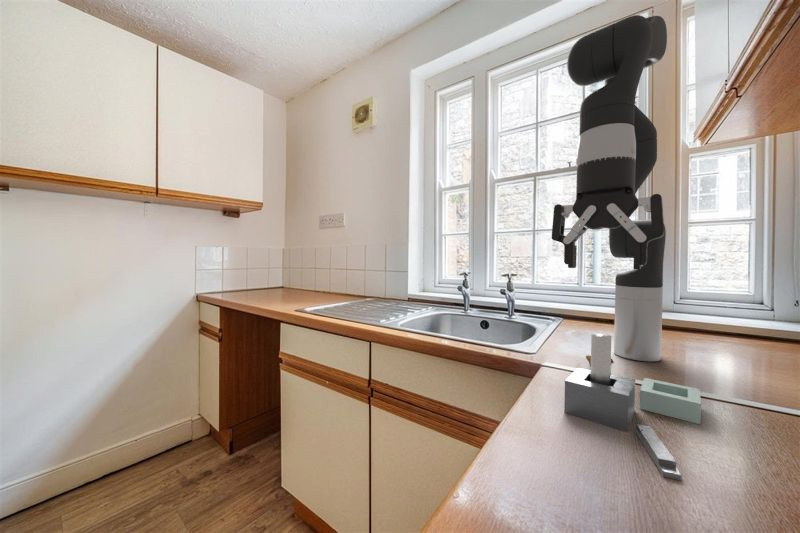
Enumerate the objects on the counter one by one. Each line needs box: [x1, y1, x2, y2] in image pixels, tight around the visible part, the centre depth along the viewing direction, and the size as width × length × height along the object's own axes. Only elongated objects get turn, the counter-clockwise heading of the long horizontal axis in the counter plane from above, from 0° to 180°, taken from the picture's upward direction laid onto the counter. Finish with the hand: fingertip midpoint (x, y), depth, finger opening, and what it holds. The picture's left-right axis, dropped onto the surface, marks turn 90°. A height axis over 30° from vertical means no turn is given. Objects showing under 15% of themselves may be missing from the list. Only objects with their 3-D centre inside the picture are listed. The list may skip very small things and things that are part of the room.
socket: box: [563, 367, 636, 432], centre depth 49 cm, size 8×8×5 cm
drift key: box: [635, 423, 683, 481], centre depth 38 cm, size 9×2×1 cm, turn 158°
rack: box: [639, 377, 702, 425], centre depth 50 cm, size 7×7×3 cm
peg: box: [590, 332, 612, 386], centre depth 49 cm, size 3×3×12 cm
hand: (602, 268), depth 48 cm, fingers open, 8 cm apart
